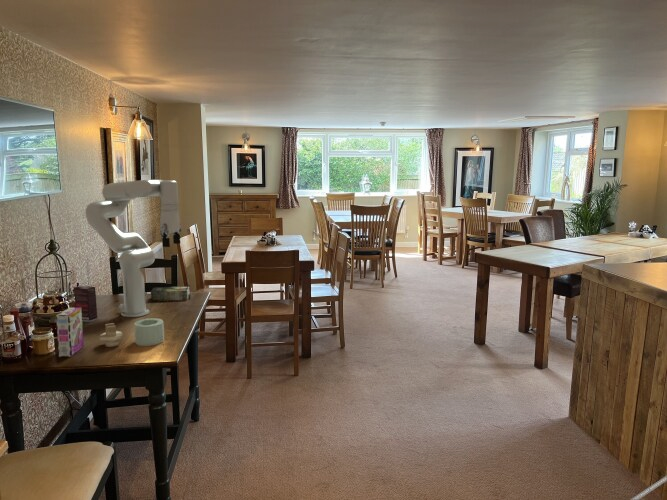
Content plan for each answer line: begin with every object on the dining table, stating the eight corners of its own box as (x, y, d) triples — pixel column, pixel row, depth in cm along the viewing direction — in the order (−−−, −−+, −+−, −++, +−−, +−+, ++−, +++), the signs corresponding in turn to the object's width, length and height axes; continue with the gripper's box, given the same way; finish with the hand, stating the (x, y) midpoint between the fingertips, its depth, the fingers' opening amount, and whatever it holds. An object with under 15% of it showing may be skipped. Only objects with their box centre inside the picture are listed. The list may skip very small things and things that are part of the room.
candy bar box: (72, 357, 181) (69, 315, 178) (58, 357, 181) (54, 315, 178) (85, 346, 192) (81, 306, 189) (71, 346, 192) (68, 306, 189)
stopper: (98, 343, 196) (97, 323, 194) (121, 339, 200) (119, 320, 199) (101, 349, 189) (100, 329, 187) (124, 345, 193) (123, 326, 192)
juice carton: (191, 295, 271) (190, 284, 270) (190, 300, 262) (189, 289, 260) (153, 297, 267) (153, 286, 266) (151, 302, 257) (150, 291, 256)
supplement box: (98, 319, 226) (95, 286, 223) (90, 322, 221) (87, 289, 219) (83, 317, 229) (81, 285, 226) (75, 320, 224) (72, 287, 222)
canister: (129, 344, 195) (128, 325, 194) (146, 335, 206) (145, 317, 204) (153, 347, 192) (152, 327, 191) (169, 337, 203) (168, 319, 202)
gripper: (171, 206, 227) (173, 242, 230) (152, 209, 210) (154, 247, 213) (186, 206, 226) (188, 242, 229) (167, 209, 209) (169, 248, 212)
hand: (171, 245), depth 221 cm, fingers open, 9 cm apart
